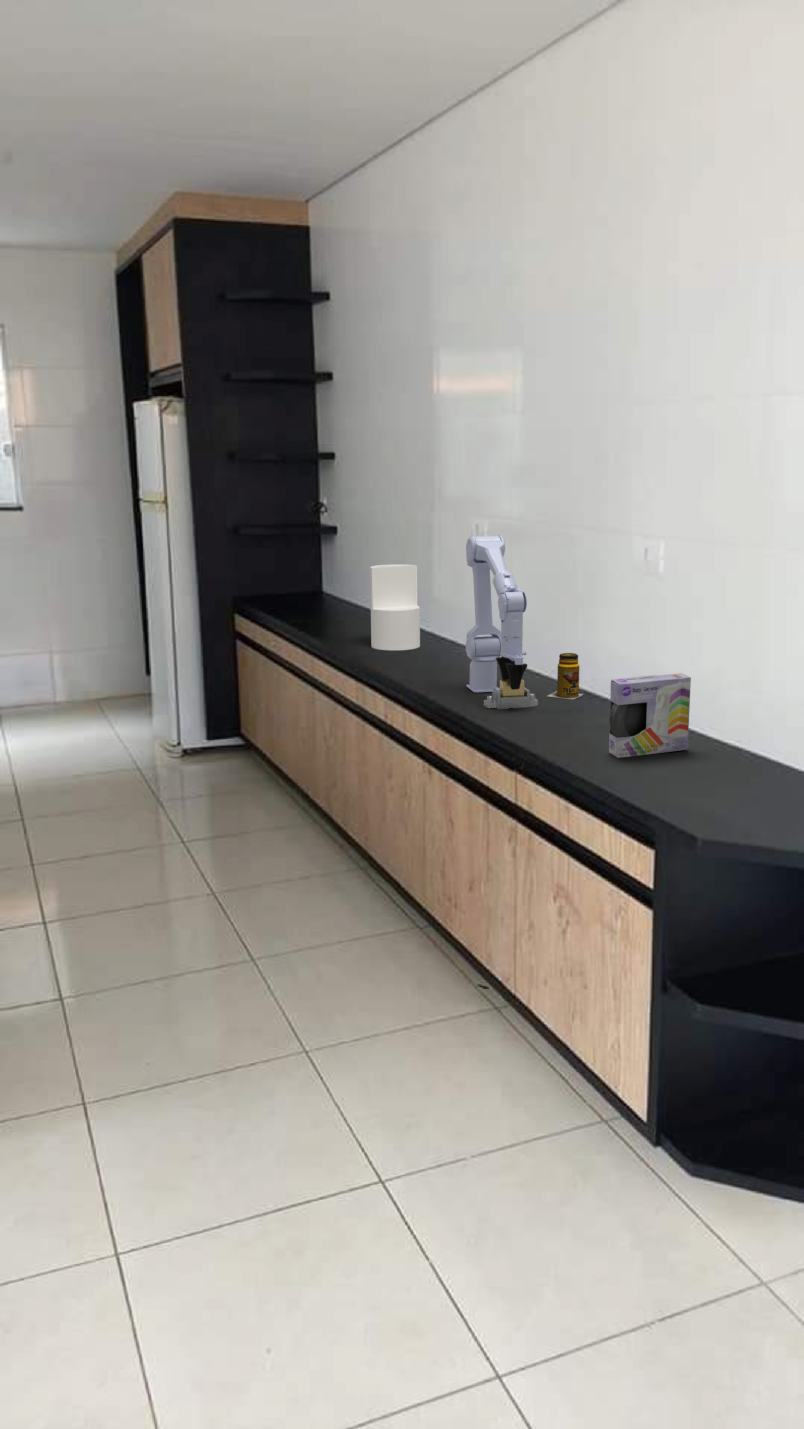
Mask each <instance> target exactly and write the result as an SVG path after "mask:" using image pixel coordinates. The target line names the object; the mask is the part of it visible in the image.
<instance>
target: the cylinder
mask: <svg viewBox="0 0 804 1429" xmlns="http://www.w3.org/2000/svg"><path fill="white" fill-rule="evenodd" d="M369 571H370V572H369V576H370V578H369V580H370V581H369V582H370V584H369V585H370V587H369V588H370V630H371V631H370V635H371V636H370V640H371V644H370V645H371V646H370V647H371V648H372V649H375V650H379V651H380V650H382V651H408V650H415V649H418V648H420V647H421V618H420V616H421V613H420V612H421V607H420V606H419V605H418V565H416V564H402V563H400V564H399V563H398V564H397V563H396V564H393V563H391V564H378V565H376V564H375V565H371V566H370V567H369Z"/></svg>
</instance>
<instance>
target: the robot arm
mask: <svg viewBox="0 0 804 1429" xmlns="http://www.w3.org/2000/svg"><path fill="white" fill-rule="evenodd" d="M465 552H466V564H467V566H469V567H470V568H472V578H473V596H474V598H473V599H474V614H475V616H474V617H475V618H474V619H475V625H474V626H473V627H472V628H471V629H470V630H468V631H467V633H466V642H465V652H466V655H467V657H468V658H469V659H470V660H471V661H470V664H469V684H466V688H468V689H469V690H471V691H472V692H473V693H491V692H492V689H497V690H498V691H499V692H500V687H498V685H497V684H498V682H497V681H498V680H497V679H498V666H499V670H500V675H501V680H504V679H510V687H511V689H512V690H514V689H519V688H520V684H521V680H523V676H524V673H525V672H526V669H527V668H528V664H527V663H524V656H527V651H524V650H523V636H524V635H523V631H524V630H523V629H524V628H523V623H524V618H523V617H524V613H525V612H526V610H527V605H528V600H527V595H526V592H525V591H524V590H522V589H521V588H519V587H518V585H517V581H516V579H515V578H514V575H513V573H512V572H511V571H508V570H507V567H506V563H505V560H504V556H505V552H506V542H505V539H504V537H503V536H502V535H500V534H499V535H486V536H485V535H484V536H481V535H480V536H473V535H471V536H469V537H468V539H467V541H466V544H465ZM491 573H492V575H493V578H492V583H491ZM491 584H493V588H494V590H495V591H496V595H497V597H498V599H497V605H498V606H497V607H498V612H499V616H498V617H499V619H500V625H501V626H500V630H499V628H497V627H496V626H494V625H493V624H494V623H493V609H492V608H493V607H492V606H493V605H492V604H493V603H492V585H491ZM486 635H488V636H486Z"/></svg>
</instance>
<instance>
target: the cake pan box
mask: <svg viewBox="0 0 804 1429" xmlns="http://www.w3.org/2000/svg"><path fill="white" fill-rule="evenodd" d="M691 683H692V678H691V677H690V676H689V675H687V674H685V673H682V672H679V673H671V674H668V673H667V674H661V675H660V674H659V675H658V674H657V675H656V674H653V675H642V676H641V675H640V676H639V675H638V676H634V677H633V676H632V677H622V678H612V679H611V680H610V701H609V702H610V706H609V707H610V711H609V712H610V714H609V736H608V737H609V739H608V740H609V741H608V742H609V743H608V754H610V755H611V756H613V757H615V758H618V759H620V758H626V757H627V758H631V757H637V756H645V755H647V756H648V755H653V754H661V753H662V754H664V753H670V752H677V751H678V752H679V751H685V750H688V748H689V731H690V730H689V729H690V708H691V706H690V704H691V687H692V686H691V685H692V684H691Z"/></svg>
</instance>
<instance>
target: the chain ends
mask: <svg viewBox="0 0 804 1429" xmlns="http://www.w3.org/2000/svg"><path fill="white" fill-rule="evenodd" d="M491 694H492V695H487V696H486V699H484V700H483V706H484V707H485V708H486V709H487V708H489V709H488V710H491V709H490V708H497V709H496V710H508V709H509V708H513V709H527V708H530V707H538V706H539V700H538V699H537V698H536V693H533V692H532V693H531V691H530V689H528V688H526V687H525V686H524V696H521V697H502V698H500V696H501V692H500V691H498V690H497V689H492V693H491ZM509 710H510V709H509Z"/></svg>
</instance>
